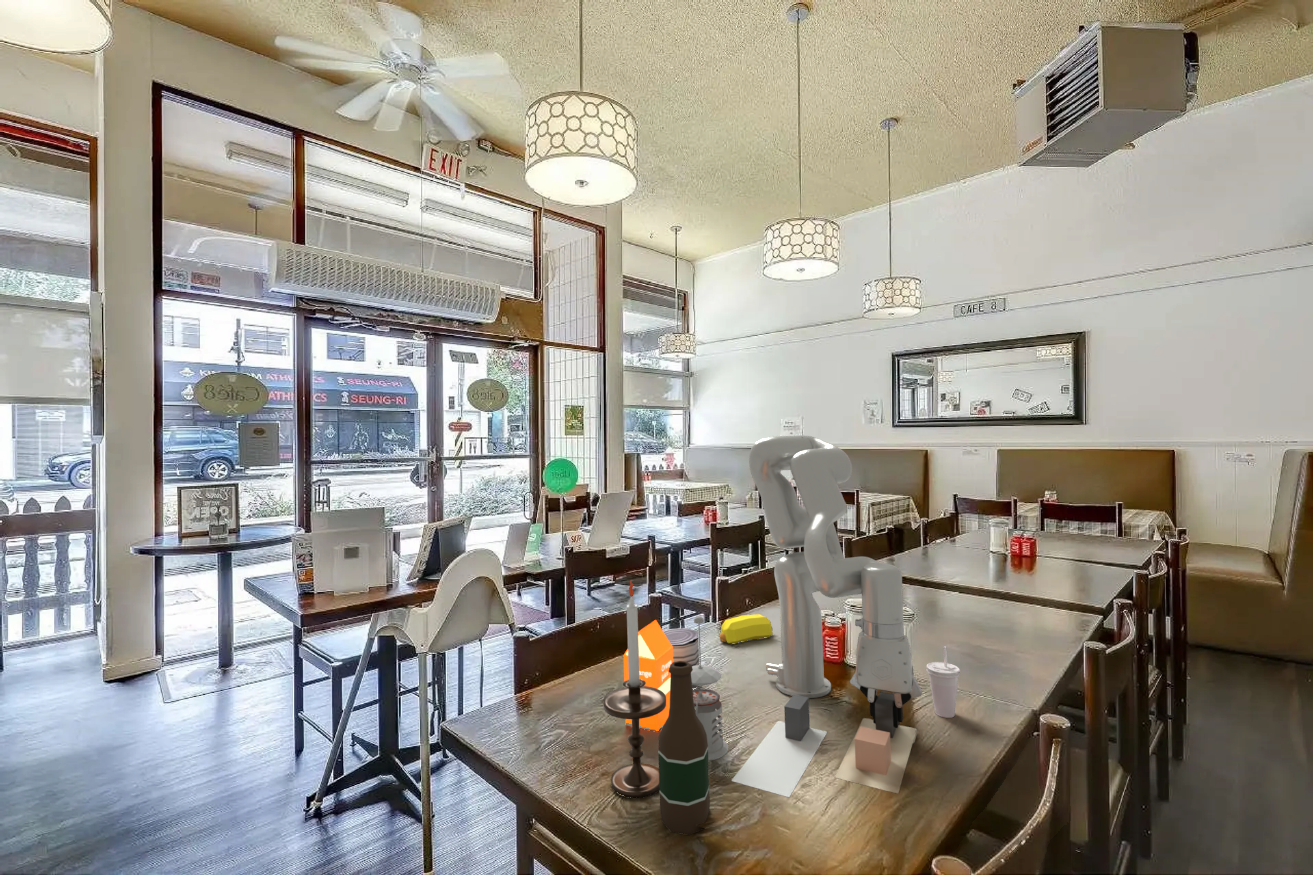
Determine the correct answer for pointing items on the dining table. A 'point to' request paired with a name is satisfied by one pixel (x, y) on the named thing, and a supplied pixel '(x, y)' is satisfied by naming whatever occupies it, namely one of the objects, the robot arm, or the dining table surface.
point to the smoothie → (943, 686)
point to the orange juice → (653, 669)
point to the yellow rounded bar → (745, 628)
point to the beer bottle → (683, 758)
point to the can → (684, 645)
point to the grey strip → (783, 751)
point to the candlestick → (635, 717)
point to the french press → (708, 704)
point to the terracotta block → (873, 750)
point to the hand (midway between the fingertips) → (886, 721)
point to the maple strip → (899, 749)
